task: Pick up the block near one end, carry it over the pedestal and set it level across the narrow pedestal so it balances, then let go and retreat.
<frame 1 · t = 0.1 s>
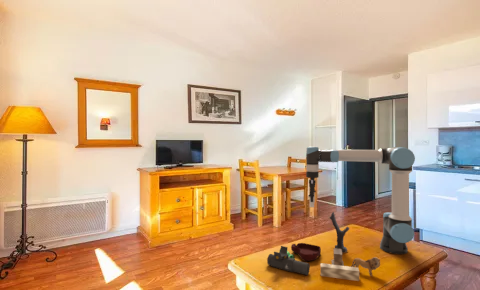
hand: (312, 204, 170), 28 cm above the table, fingers open, 13 cm apart
antler: (339, 251, 166), on the table
block: (339, 276, 135), on the table
lion figurine: (365, 273, 139), on the table
pedestal: (337, 265, 146), on the table
ashtray: (308, 256, 160), on the table
laser sight: (287, 270, 142), on the table
candy: (286, 257, 158), on the table
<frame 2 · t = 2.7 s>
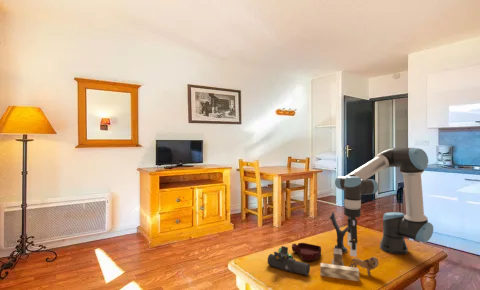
hand: (351, 250, 133), 14 cm above the table, fingers open, 13 cm apart
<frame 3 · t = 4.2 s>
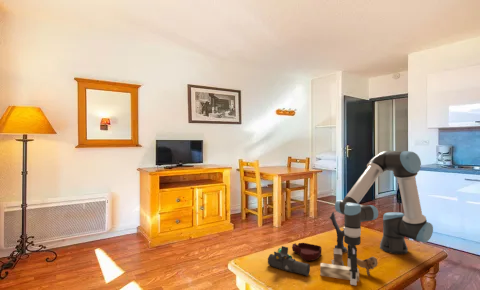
hand: (351, 277, 133), 0 cm above the table, fingers open, 13 cm apart
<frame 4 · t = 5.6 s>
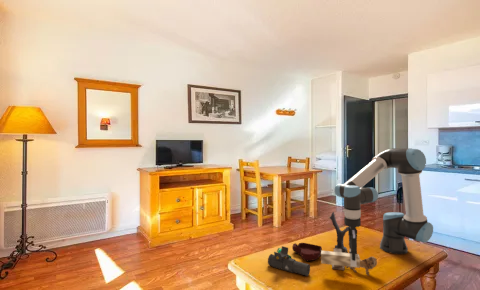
hand: (352, 263, 133), 7 cm above the table, fingers closed on block, 4 cm apart
block: (339, 263, 135), point 6 cm above the table, touching gripper
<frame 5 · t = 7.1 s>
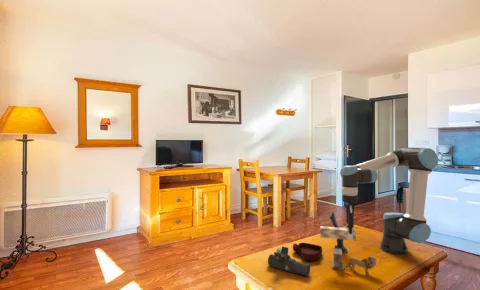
hand: (349, 237, 145), 16 cm above the table, fingers closed on block, 4 cm apart
block: (337, 237, 146), point 15 cm above the table, touching gripper
when the fingers open (7 cm above the table, at t = 8.9 s): block stays where it is, resting on pedestal.
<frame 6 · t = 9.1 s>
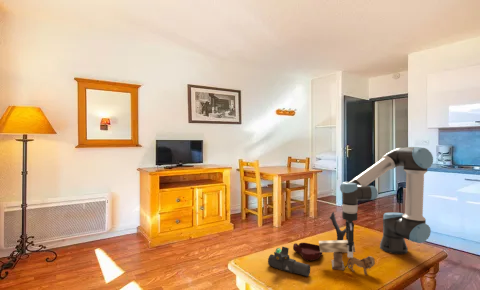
hand: (349, 254, 145), 7 cm above the table, fingers open, 6 cm apart
block: (337, 250, 146), point 8 cm above the table, tilted 8°, touching pedestal
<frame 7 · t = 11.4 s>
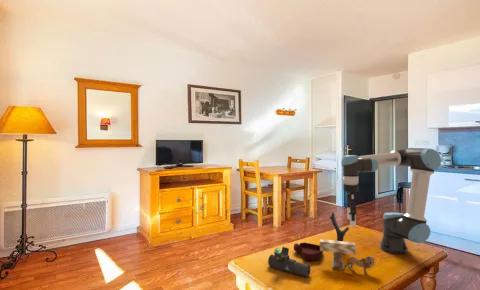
hand: (351, 222, 146), 24 cm above the table, fingers open, 13 cm apart
block: (337, 251, 146), point 8 cm above the table, touching pedestal
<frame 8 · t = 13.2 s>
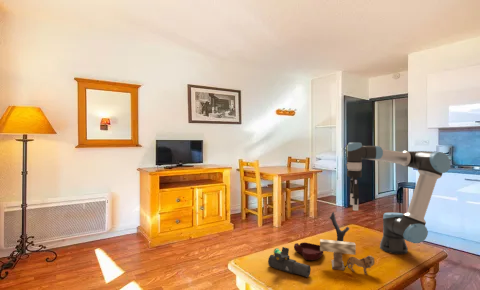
hand: (354, 207, 151), 31 cm above the table, fingers open, 13 cm apart
at the end: block inside the target area on the pedestal (0.3 cm from its centre), point 8.0 cm above the pedestal's base; block touching pedestal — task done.
